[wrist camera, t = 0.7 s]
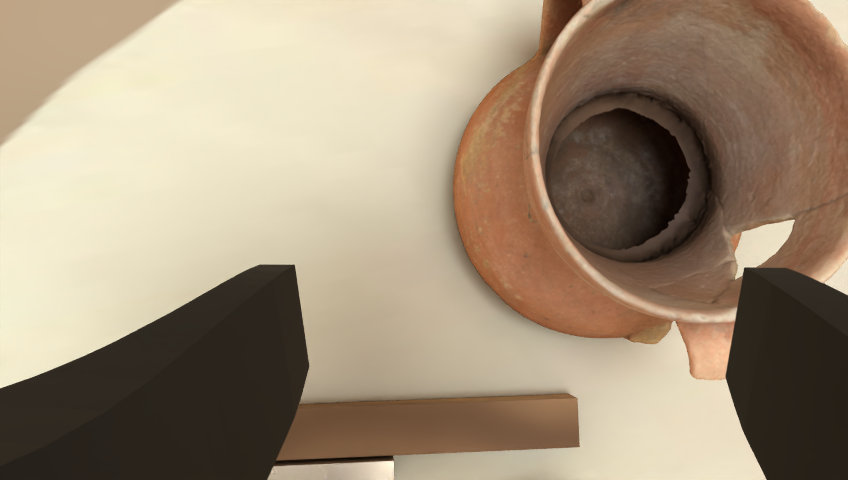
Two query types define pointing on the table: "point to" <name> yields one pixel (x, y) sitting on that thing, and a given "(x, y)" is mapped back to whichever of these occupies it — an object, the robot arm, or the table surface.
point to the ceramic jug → (657, 165)
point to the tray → (335, 469)
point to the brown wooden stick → (432, 426)
